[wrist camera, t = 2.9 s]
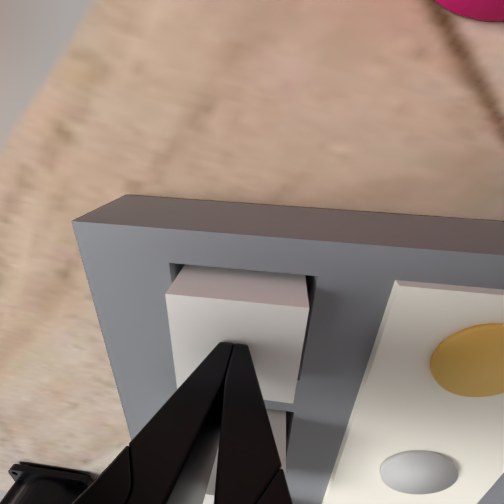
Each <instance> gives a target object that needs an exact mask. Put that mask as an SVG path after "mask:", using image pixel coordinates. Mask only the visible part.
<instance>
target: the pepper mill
mask: <svg viewBox="0 0 504 504" xmlns="http://www.w3.org/2000/svg"><path fill="white" fill-rule="evenodd" d="M435 1H436V2H438V3H439V4H440V5H442V6H443V7H444V8H446V9H448V10H450V11H451V12H453V13H455V14H458V15H462V16H466V17H470V18H473V19H477V20H483V21H503V20H504V0H435Z"/></svg>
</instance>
